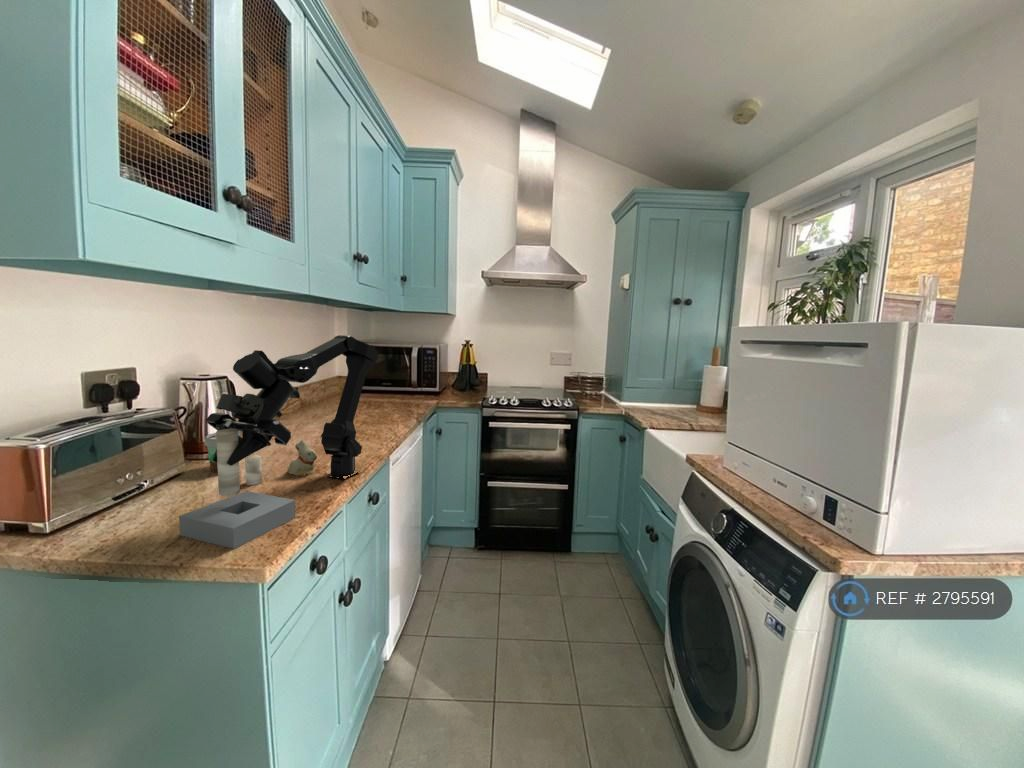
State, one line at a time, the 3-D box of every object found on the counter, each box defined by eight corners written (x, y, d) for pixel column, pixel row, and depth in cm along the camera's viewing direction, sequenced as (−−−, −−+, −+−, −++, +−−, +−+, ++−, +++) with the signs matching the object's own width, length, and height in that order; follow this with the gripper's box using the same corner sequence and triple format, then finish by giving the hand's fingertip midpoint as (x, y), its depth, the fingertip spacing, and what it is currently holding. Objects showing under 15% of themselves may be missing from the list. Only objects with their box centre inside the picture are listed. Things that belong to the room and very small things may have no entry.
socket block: (246, 507, 90) (246, 490, 90) (295, 517, 86) (295, 500, 86) (180, 535, 77) (179, 516, 76) (234, 548, 73) (233, 528, 72)
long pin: (224, 489, 83) (222, 428, 81) (243, 488, 83) (241, 429, 82) (214, 495, 79) (212, 432, 78) (234, 495, 80) (231, 433, 79)
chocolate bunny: (300, 478, 110) (299, 443, 109) (284, 472, 114) (284, 438, 113) (318, 473, 114) (318, 439, 113) (303, 467, 118) (302, 435, 117)
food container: (202, 466, 116) (200, 433, 115) (227, 462, 120) (226, 430, 119) (208, 477, 107) (207, 442, 106) (235, 473, 112) (234, 438, 111)
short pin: (254, 479, 107) (254, 454, 106) (265, 481, 106) (264, 456, 105) (242, 484, 104) (241, 458, 103) (253, 486, 103) (252, 460, 102)
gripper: (212, 376, 85) (156, 436, 76) (277, 382, 80) (225, 448, 71) (248, 406, 94) (201, 464, 85) (309, 414, 88) (266, 477, 79)
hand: (221, 463), depth 79 cm, fingers closed on long pin, 4 cm apart
